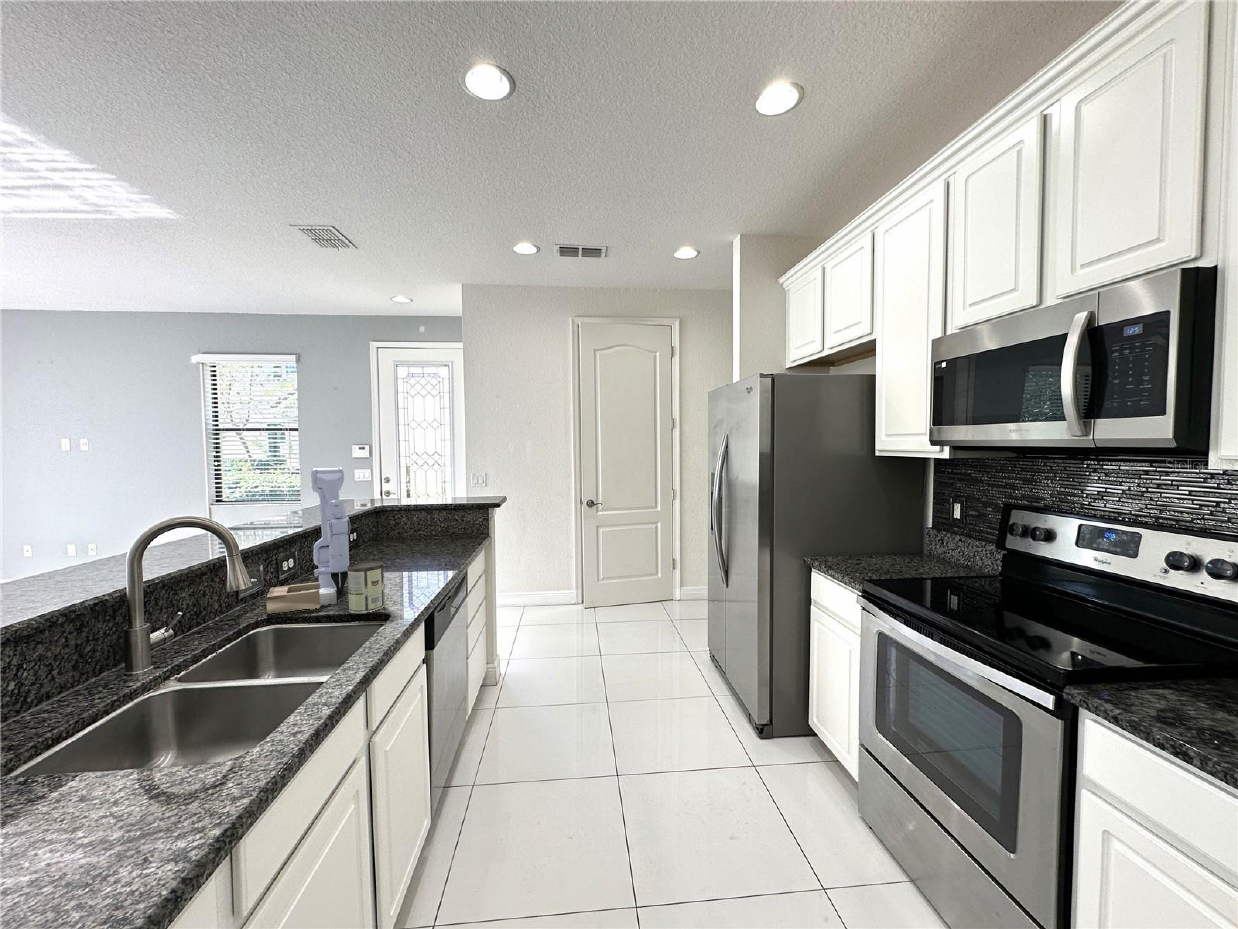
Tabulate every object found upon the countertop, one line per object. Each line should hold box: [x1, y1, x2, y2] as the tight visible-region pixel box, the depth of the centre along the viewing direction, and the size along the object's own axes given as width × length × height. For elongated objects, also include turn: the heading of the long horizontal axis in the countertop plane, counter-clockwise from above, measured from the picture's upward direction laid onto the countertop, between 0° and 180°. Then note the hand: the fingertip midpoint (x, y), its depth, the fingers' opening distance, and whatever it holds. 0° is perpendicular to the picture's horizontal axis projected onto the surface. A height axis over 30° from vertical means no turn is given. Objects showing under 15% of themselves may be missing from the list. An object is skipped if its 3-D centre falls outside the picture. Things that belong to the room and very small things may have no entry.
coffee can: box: [347, 560, 385, 614], centre depth 165 cm, size 10×10×14 cm
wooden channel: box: [266, 581, 321, 614], centre depth 168 cm, size 13×14×6 cm
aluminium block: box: [301, 587, 337, 607], centre depth 172 cm, size 8×10×4 cm
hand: (340, 594), depth 174 cm, fingers closed
